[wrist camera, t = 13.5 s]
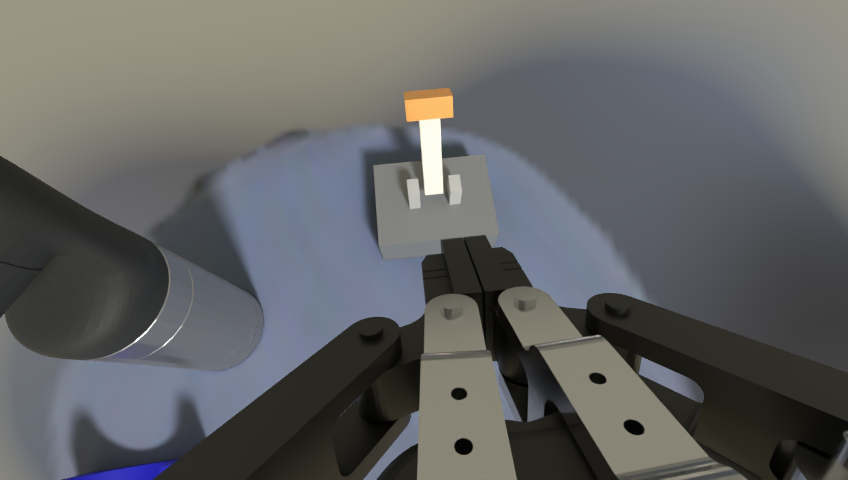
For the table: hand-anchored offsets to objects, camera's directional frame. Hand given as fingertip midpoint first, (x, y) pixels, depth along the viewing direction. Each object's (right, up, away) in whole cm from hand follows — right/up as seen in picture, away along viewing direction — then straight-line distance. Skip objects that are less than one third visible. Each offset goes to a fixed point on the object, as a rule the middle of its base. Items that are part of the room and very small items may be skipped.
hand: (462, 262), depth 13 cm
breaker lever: (0, +5, +31) cm, 31 cm away
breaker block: (0, +4, +35) cm, 36 cm away
